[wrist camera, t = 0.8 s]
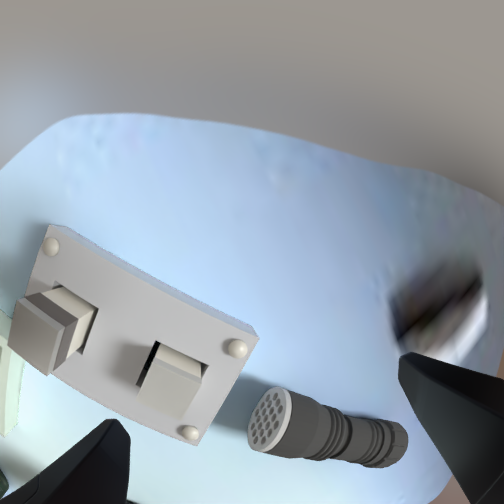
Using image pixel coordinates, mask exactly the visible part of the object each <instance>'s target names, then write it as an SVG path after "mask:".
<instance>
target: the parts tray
mask: <svg viewBox="0 0 504 504" xmlns="http://www.w3.org/2000/svg"><path fill="white" fill-rule="evenodd" d="M11 323H12V319H11V318H9V317H8V316H7V315H6V314H5V313H4V312H3V311H1V310H0V434H1V435H2V436H3V437H4V438H5V437H6V436H7V435H8V434H9V433H10V431H11V430H12V429H13V428H14V427H15V426H16V425H17V424H18V413H19V402H20V394H21V386H22V379H23V373H24V367H25V362H26V361H25V360H24V359H23V358H22V357H20V356H19V355H18V354H17V353H15V352H14V351H13V350H12V349H11V348H9V347H8V346H7V344H8V338H9V332H10V327H11Z"/></svg>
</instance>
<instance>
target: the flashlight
mask: <svg viewBox="0 0 504 504" xmlns="http://www.w3.org/2000/svg"><path fill="white" fill-rule="evenodd" d="M247 437H248V443H249V446H250V447H251V449H253V450H255V451H258V452H263V453H267V454H271V455H275V456H280V457H284V458H304V459H310V460H315V461H322V460H326V459H328V458H330V459H337V460H345V461H347V462H350V463H358V464H361V465H363V466H364V467H369V468H384V467H389V466H390V465H392V464H394V463H396V462H397V461H399V460H400V459H401V458H402V456H403V455H404V453H405V452H406V449H407V446H408V434H407V432H406V430H405V429H404V428H403V427H402V426H401V425H400V424H399V423H397V422H392V421H388V420H383V419H377V420H369V419H364V418H362V419H358V418H354V417H350V416H346V415H343V414H342V413H341V411H339V410H338V409H336V408H332V407H330V406H326V405H321V404H319V403H318V402H316V401H315V400H313V399H312V398H310V397H307V396H304V395H301V394H298V393H295V392H292V391H289V390H286V389H284V388H281V387H273V388H271V389H269V390H268V391H267V392H265V394H264V395H263V396H262V398H261V399H260V401H259V403H258V404H257V406H256V407H255V409H254V410H253V413H252V415H251V418H250V422H249V425H248V432H247Z"/></svg>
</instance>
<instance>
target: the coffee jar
mask: <svg viewBox="0 0 504 504" xmlns="http://www.w3.org/2000/svg"><path fill="white" fill-rule="evenodd" d="M8 488H9V484H8V482H7V480H6V478H5V476H4V475H3V473H2V472H1V470H0V499H1V498H2V497H3V495H4V494H5V493H6V491H7V490H8Z"/></svg>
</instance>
